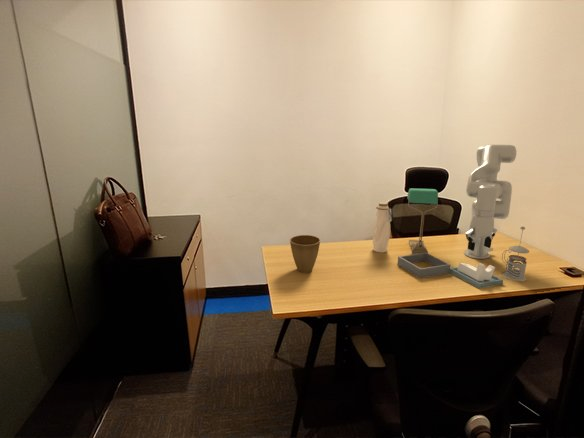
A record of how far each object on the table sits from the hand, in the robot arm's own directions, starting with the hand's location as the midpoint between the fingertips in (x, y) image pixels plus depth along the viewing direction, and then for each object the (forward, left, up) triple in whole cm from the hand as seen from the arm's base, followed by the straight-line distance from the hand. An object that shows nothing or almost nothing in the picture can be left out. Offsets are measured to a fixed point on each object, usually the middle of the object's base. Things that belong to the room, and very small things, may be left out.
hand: (478, 248), depth 160 cm
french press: (-19, +4, -15) cm, 24 cm away
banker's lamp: (-2, -44, -15) cm, 46 cm away
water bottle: (+21, -47, -15) cm, 53 cm away
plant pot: (+73, -35, -15) cm, 83 cm away
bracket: (0, 0, -14) cm, 14 cm away
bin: (+16, -17, -15) cm, 28 cm away
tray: (0, 0, -15) cm, 15 cm away
